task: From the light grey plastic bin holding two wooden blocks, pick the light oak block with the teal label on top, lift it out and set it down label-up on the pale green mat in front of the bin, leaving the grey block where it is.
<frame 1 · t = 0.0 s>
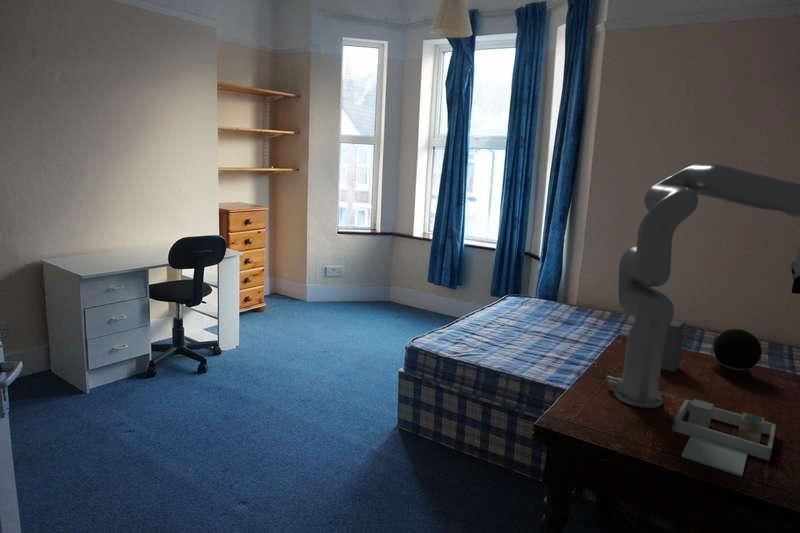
labelled block: (748, 440, 135), resting in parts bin
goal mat: (714, 455, 127), on the table
skincare box: (662, 367, 181), on the table
plain block: (698, 425, 141), resting in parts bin
dark rounded object: (732, 374, 178), on the table
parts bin: (722, 432, 138), on the table
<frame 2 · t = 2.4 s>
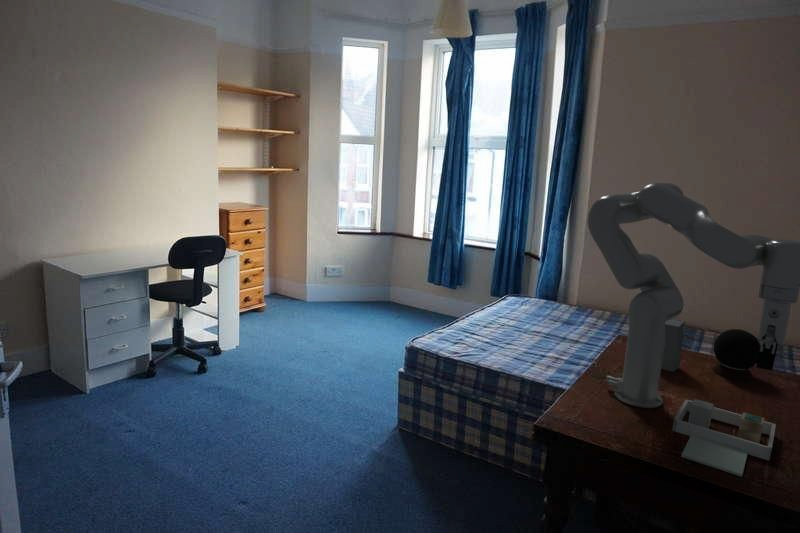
hand: (765, 362, 130), 20 cm above the table, tool pointing down, fingers open, 9 cm apart
nothing on the table moved.
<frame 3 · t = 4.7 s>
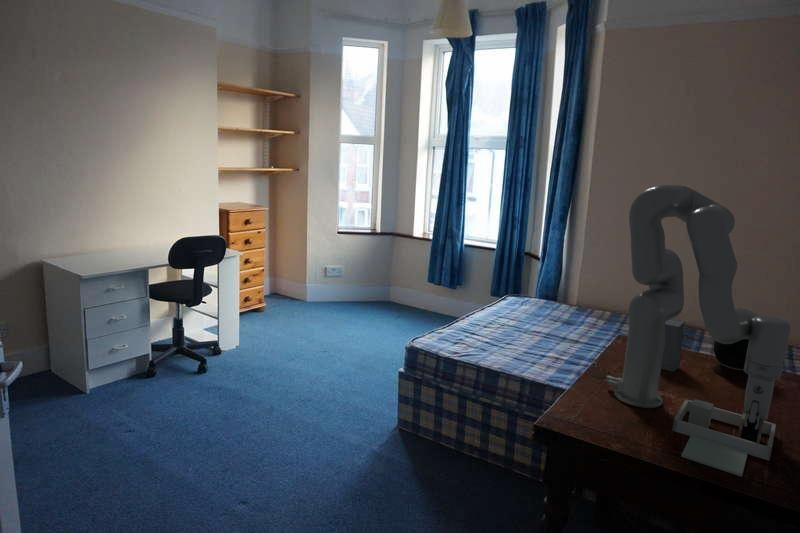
hand: (749, 437, 135), 1 cm above the table, tool pointing down, fingers closed on labelled block, 4 cm apart
labelled block: (748, 440, 135), resting in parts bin, touching gripper
everything else where it was.
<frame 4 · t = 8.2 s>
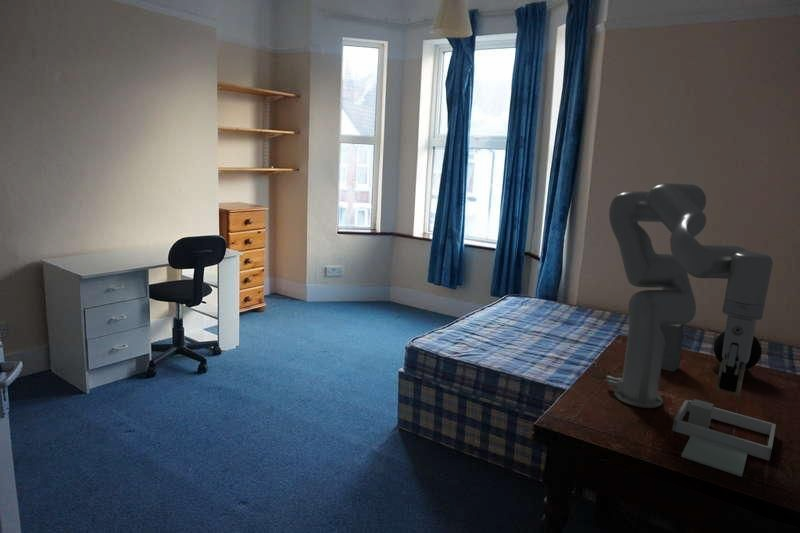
hand: (728, 385, 124), 17 cm above the table, tool pointing down, fingers closed on labelled block, 4 cm apart
labelled block: (728, 389, 124), point 16 cm above the table, touching gripper
everything else where it was.
when the fingers open (2 cm above the table, at t = 11.5 s): labelled block stays where it is, resting on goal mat.
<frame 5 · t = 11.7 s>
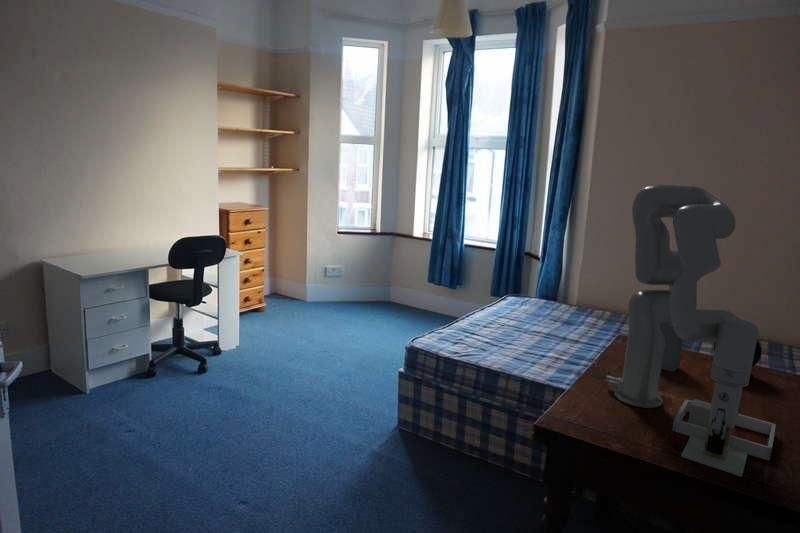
hand: (716, 445, 127), 2 cm above the table, tool pointing down, fingers open, 6 cm apart
labelled block: (715, 453, 127), point 1 cm above the table, touching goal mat
everything else where it was.
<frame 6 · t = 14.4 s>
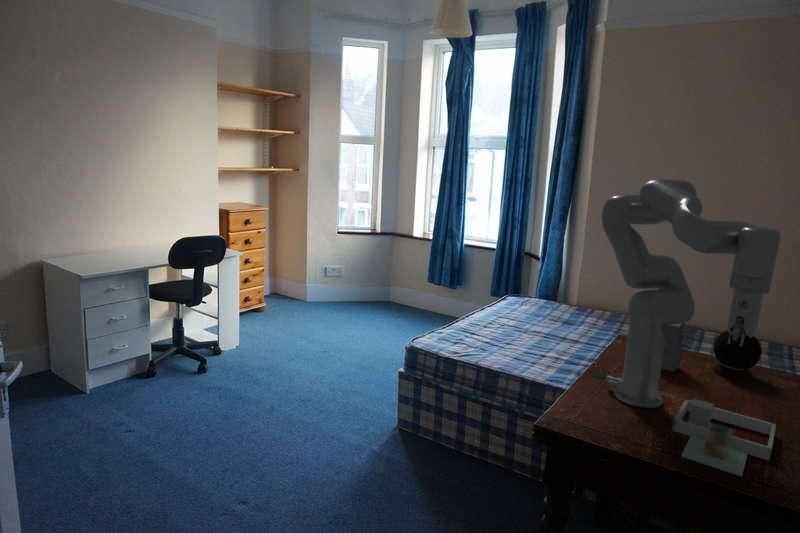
hand: (735, 355, 124), 24 cm above the table, tool pointing down, fingers open, 9 cm apart
nothing on the table moved.
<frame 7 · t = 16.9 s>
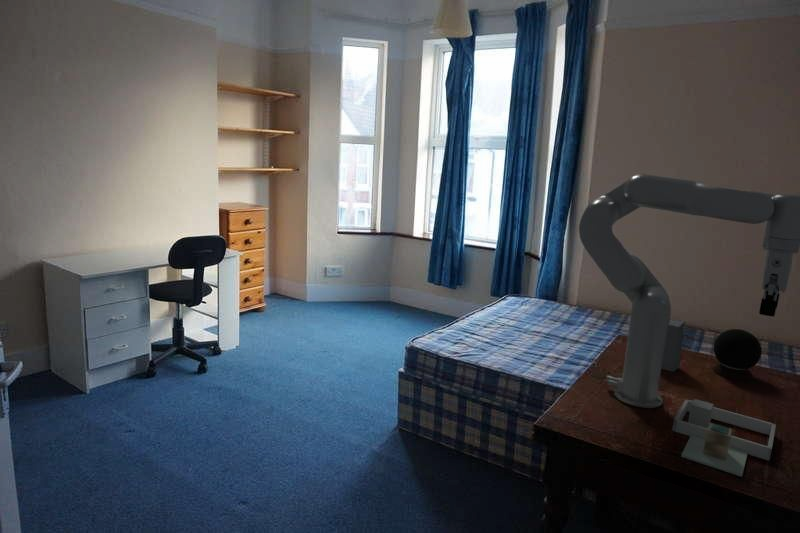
hand: (767, 311, 139), 30 cm above the table, tool pointing down, fingers open, 9 cm apart
nothing on the table moved.
at the end: labelled block inside the target area on the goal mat (0.0 cm from its centre), point 0.6 cm above the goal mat's base; labelled block tilted 0°; the gripper is holding nothing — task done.
